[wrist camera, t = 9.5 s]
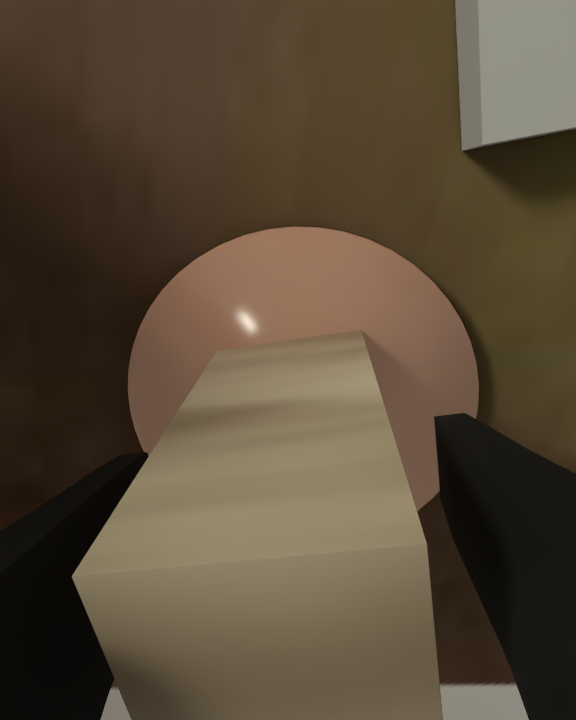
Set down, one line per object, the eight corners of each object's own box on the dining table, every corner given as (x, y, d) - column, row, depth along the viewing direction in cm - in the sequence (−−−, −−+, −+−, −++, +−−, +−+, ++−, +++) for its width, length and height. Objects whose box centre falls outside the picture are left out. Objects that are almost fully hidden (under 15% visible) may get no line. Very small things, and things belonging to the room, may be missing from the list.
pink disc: (478, 518, 15) (484, 531, 14) (181, 547, 16) (176, 560, 15) (463, 193, 12) (471, 193, 11) (91, 260, 13) (81, 263, 12)
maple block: (377, 458, 14) (448, 784, 6) (245, 473, 14) (162, 793, 7) (361, 329, 12) (427, 543, 5) (216, 350, 13) (71, 576, 5)
